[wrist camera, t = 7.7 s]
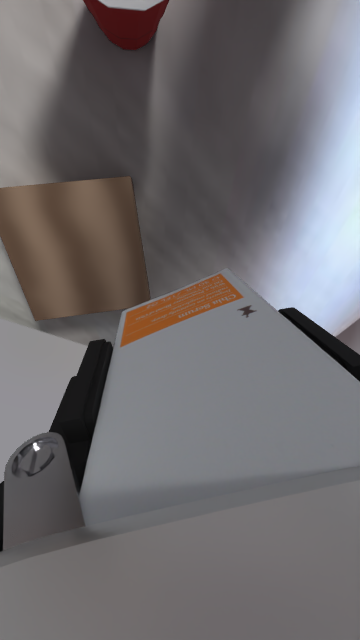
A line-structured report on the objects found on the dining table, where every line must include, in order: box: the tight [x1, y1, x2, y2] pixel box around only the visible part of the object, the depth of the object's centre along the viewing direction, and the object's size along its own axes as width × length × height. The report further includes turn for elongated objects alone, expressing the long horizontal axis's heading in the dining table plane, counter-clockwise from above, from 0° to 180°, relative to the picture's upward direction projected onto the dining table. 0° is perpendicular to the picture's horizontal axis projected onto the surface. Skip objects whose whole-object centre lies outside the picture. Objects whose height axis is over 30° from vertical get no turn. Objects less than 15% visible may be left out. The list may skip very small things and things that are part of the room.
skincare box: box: [79, 268, 360, 526], centre depth 8 cm, size 6×4×12 cm
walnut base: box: [0, 176, 150, 321], centre depth 28 cm, size 14×14×4 cm
